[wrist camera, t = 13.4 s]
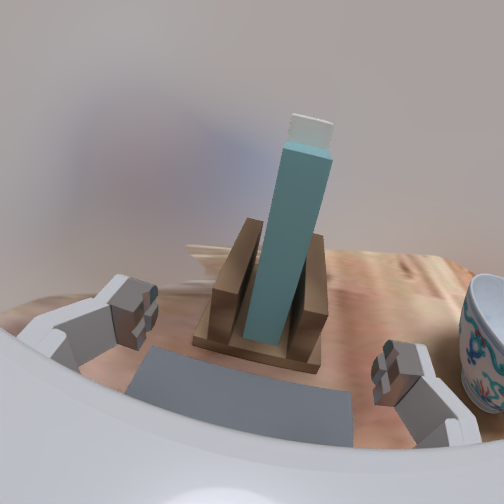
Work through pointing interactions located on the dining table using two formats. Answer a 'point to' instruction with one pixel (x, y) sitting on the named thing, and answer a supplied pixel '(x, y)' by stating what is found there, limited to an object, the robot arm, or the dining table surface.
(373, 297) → the dining table surface
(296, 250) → the teal rectangular block
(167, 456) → the robot arm
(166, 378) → the mat
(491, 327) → the chinaware
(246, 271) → the rack
